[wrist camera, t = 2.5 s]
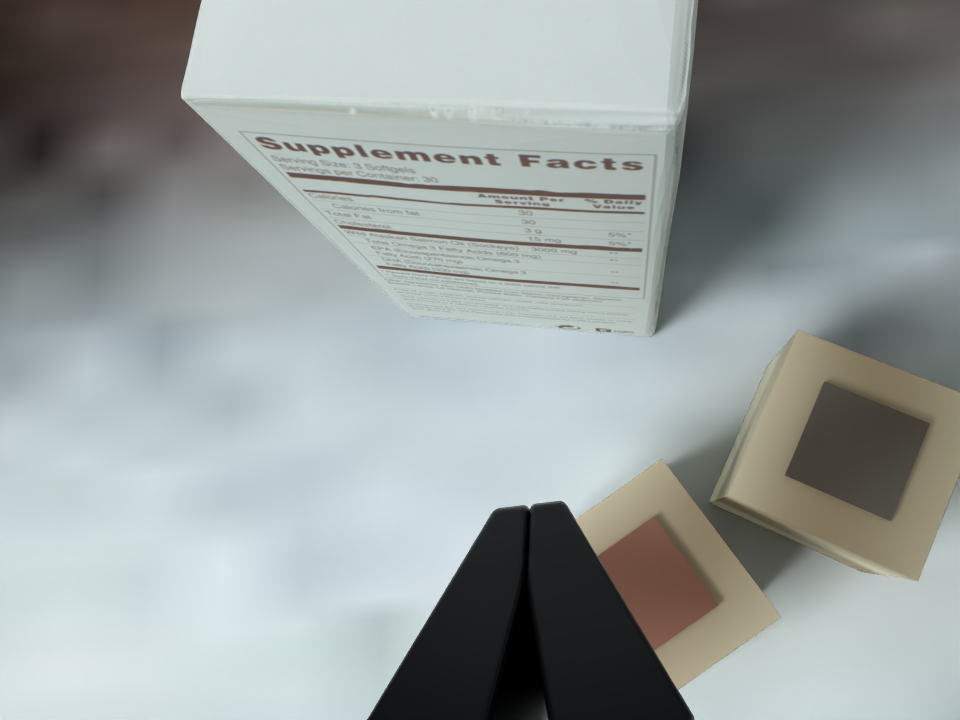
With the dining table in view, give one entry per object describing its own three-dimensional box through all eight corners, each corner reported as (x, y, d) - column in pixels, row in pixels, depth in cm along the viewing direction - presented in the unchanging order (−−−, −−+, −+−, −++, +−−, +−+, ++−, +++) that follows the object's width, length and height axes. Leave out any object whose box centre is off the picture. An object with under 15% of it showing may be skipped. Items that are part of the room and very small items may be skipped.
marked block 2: (918, 427, 20) (990, 401, 16) (860, 571, 20) (920, 581, 16) (766, 366, 21) (799, 328, 17) (708, 502, 21) (728, 495, 17)
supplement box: (439, 96, 25) (260, -326, 13) (681, 106, 23) (746, -363, 11) (401, 323, 23) (158, 97, 11) (655, 349, 22) (697, 121, 10)
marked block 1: (750, 600, 20) (782, 618, 16) (623, 690, 20) (623, 729, 16) (655, 472, 21) (662, 458, 17) (534, 557, 21) (513, 563, 17)
